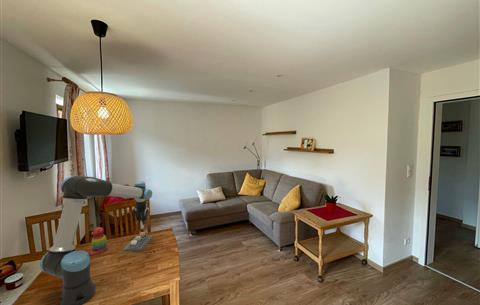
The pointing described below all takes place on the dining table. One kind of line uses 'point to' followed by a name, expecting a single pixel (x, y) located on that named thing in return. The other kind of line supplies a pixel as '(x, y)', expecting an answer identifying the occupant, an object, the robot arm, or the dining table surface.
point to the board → (138, 244)
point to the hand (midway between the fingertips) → (142, 228)
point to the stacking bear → (98, 241)
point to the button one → (133, 242)
